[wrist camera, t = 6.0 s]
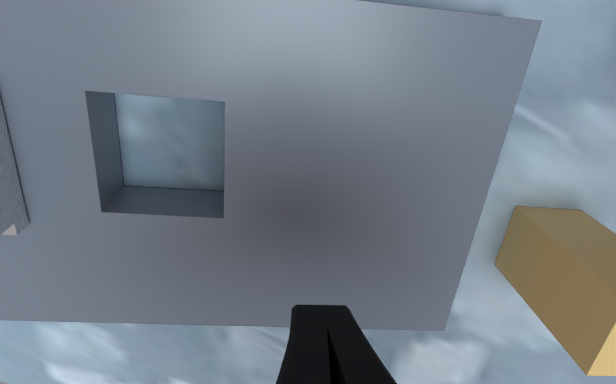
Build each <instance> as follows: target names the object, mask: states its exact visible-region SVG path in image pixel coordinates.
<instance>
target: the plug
mask: <svg viewBox="0 0 616 384" xmlns="http://www.w3.org/2000/svg"><path fill="white" fill-rule="evenodd" d="M495 266H496V267H497V268H498V269H499V271H500V272H501V273H502V274H503V275H504V277H505V278H506V279H507V280H508V281H509V283H510V284H511V285H512V286H513V287H514V289H515V290H516V291H517V292H518V293H519V295H520V296H521V297H522V298H523V299H524V301H525V302H526V303H527V304H528V305H529V307H530V308H531V309H532V310H533V312H534V313H535V314H536V315H537V316H538V318H539V319H540V320H541V321H542V322H543V324H544V325H545V326H546V327H547V328H548V330H549V331H550V332H551V333H552V334H553V336H554V337H555V338H556V339H557V340H558V342H559V343H560V344H561V345H562V346H563V348H564V349H565V350H566V351H567V353H568V354H569V355H570V356H571V357H572V359H573V360H574V361H575V362H576V363H577V365H578V366H579V367H580V368H581V369H582V371H583V372H584V373H585V374H586V375H587V376H616V234H615V233H614V232H612V231H611V230H609V229H608V228H606V227H605V226H603V225H602V224H601V223H599V222H598V221H596V220H595V219H593V218H592V217H590V216H589V215H587V214H586V213H584V212H583V211H581V210H574V209H557V208H539V207H522V206H515V208H514V211H513V214H512V217H511V220H510V222H509V225H508V228H507V231H506V234H505V237H504V239H503V242H502V245H501V248H500V251H499V253H498V256H497V259H496V262H495Z"/></svg>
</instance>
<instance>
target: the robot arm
mask: <svg viewBox="0 0 616 384" xmlns="http://www.w3.org/2000/svg"><path fill="white" fill-rule="evenodd" d="M276 384H397V383H396V382H395V381H394V379H393V378H392V376H391V375H390V373H389V372H388V370H387V369H386V368H385V366H384V365H383V363H382V362H381V360H380V359H379V357H378V356H377V354H376V353H375V351H374V350H373V348H372V347H371V345H370V343H369V342H368V340H367V339H366V337H365V335H364V334H363V332H362V330H361V329H360V327H359V325H358V324H357V322H356V320H355V318H354V317H353V315H352V313H351V311H350V309H349V308H348V307H347V306H346V305H295V306H294V307H293V308H292V310H291V323H290V335H289V340H288V344H287V349H286V352H285V356H284V359H283V362H282V366H281V369H280V373H279V376H278V379H277V382H276Z"/></svg>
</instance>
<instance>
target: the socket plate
mask: <svg viewBox="0 0 616 384" xmlns="http://www.w3.org/2000/svg"><path fill="white" fill-rule="evenodd" d="M541 22H542V21H540V20H531V19H522V18H513V17H503V16H494V15H485V14H476V13H467V12H458V11H449V10H440V9H431V8H421V7H412V6H403V5H394V4H385V3H376V2H367V1H358V0H0V99H1V103H2V108H3V112H4V116H5V121H6V125H7V130H8V134H9V138H10V143H11V147H12V152H13V156H14V160H15V165H16V169H17V174H18V178H19V182H20V187H21V191H22V195H23V200H24V204H25V209H26V213H27V217H28V222H29V225H28V226H27V227H26V228H25V229H23V230H22V231H21V232H20V233H19V234H18V235H0V320H14V321H56V322H99V323H141V324H183V325H226V326H268V327H290V323H291V310H292V308H293V307H294V306H295V305H346V306H347V307H348V308H349V309H350V311H351V313H352V315H353V317H354V318H355V320H356V322H357V324H358V325H359V327H360V329H395V330H438V331H444V328H445V325H446V322H447V319H448V316H449V313H450V309H451V306H452V303H453V300H454V297H455V294H456V291H457V287H458V284H459V281H460V278H461V275H462V272H463V268H464V265H465V262H466V259H467V256H468V253H469V250H470V246H471V243H472V240H473V237H474V234H475V231H476V227H477V224H478V221H479V218H480V215H481V212H482V209H483V205H484V202H485V199H486V196H487V193H488V190H489V186H490V183H491V180H492V177H493V174H494V171H495V167H496V164H497V161H498V158H499V155H500V152H501V149H502V145H503V142H504V139H505V136H506V133H507V130H508V126H509V123H510V120H511V117H512V114H513V111H514V108H515V104H516V101H517V98H518V95H519V92H520V89H521V85H522V82H523V79H524V76H525V73H526V70H527V67H528V63H529V60H530V57H531V54H532V51H533V48H534V44H535V41H536V38H537V35H538V32H539V29H540V26H541ZM114 93H120V94H133V95H145V96H158V97H170V98H182V99H195V100H207V101H220V102H225V134H224V192H223V191H206V190H189V189H171V188H154V187H136V186H124V182H123V173H122V164H121V155H120V145H119V136H118V127H117V117H116V108H115V99H114Z"/></svg>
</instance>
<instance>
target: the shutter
mask: <svg viewBox="0 0 616 384" xmlns="http://www.w3.org/2000/svg"><path fill="white" fill-rule="evenodd" d="M28 225H29V222H28V217H27V213H26V209H25V204H24V200H23V195H22V191H21V187H20V182H19V178H18V174H17V169H16V165H15V160H14V156H13V152H12V147H11V143H10V138H9V134H8V130H7V125H6V121H5V116H4V112H3V108H2V103H1V99H0V235H18V234H19V233H20V232H21V231H22V230H23V229H25V228H26V227H27V226H28Z"/></svg>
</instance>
